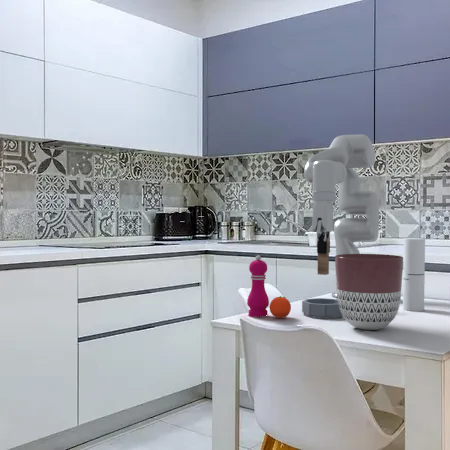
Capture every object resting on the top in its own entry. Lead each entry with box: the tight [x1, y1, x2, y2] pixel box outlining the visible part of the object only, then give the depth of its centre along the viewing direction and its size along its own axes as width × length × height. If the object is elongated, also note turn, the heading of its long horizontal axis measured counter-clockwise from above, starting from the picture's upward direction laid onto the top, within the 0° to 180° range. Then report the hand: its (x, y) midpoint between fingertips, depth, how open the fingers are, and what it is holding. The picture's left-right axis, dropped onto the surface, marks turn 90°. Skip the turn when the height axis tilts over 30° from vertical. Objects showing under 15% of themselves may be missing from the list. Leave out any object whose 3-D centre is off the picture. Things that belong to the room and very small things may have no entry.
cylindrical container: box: [402, 237, 426, 312], centre depth 205 cm, size 7×7×25 cm
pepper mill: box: [246, 255, 270, 318], centre depth 192 cm, size 7×7×20 cm
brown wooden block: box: [317, 238, 330, 276], centre depth 193 cm, size 3×3×12 cm
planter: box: [334, 253, 404, 331], centre depth 172 cm, size 20×20×21 cm
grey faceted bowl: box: [301, 297, 343, 319], centre depth 194 cm, size 13×13×4 cm
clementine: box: [269, 295, 292, 319], centre depth 189 cm, size 8×7×7 cm
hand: (323, 252), depth 193 cm, fingers closed on brown wooden block, 3 cm apart
